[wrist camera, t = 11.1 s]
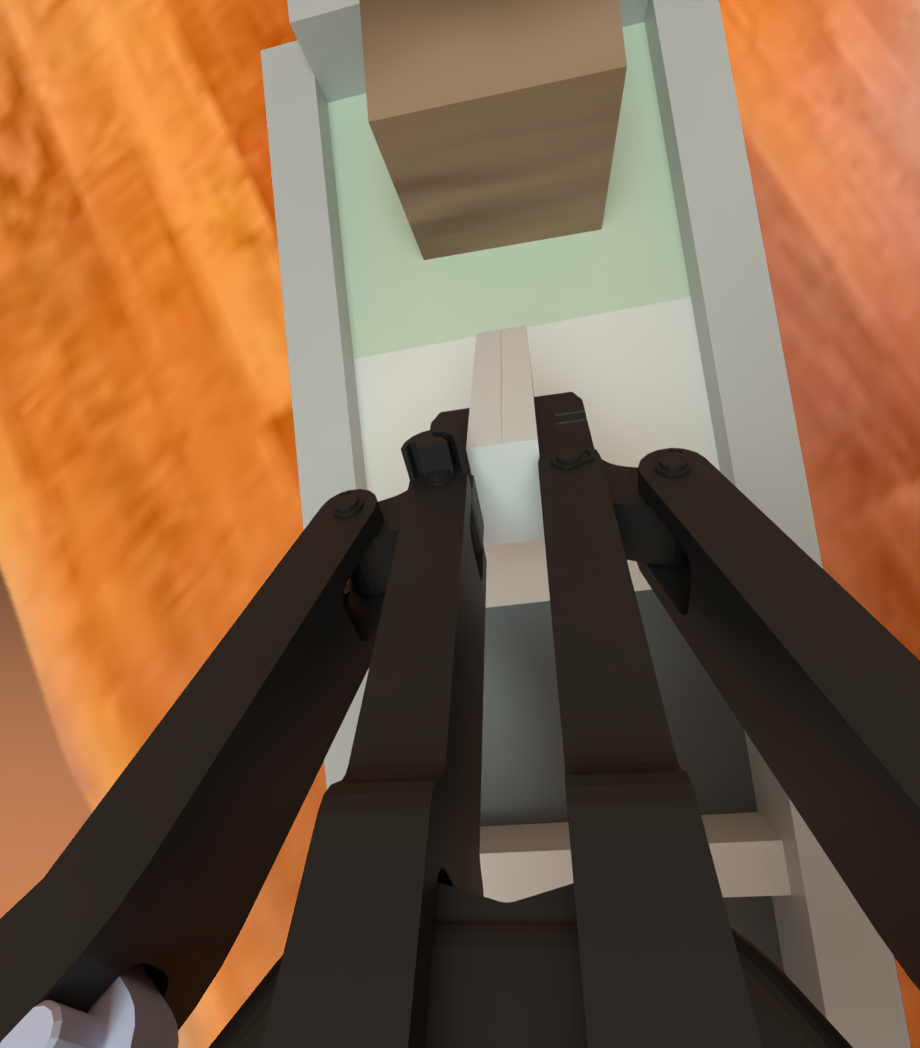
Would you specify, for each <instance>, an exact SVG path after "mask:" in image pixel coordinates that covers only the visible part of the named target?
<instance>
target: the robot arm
mask: <svg viewBox="0 0 920 1048" xmlns="http://www.w3.org/2000/svg"><path fill="white" fill-rule="evenodd" d="M401 452H402V456H403V459H404V462H405V466H406V469H407V472H408V476H409V479H410V482H409V487H408V490H407V491H405V492H403V493H401V494H399V495H396V496H394V497H391V498H388V499H385V500H382V501H379V502H378V501H377V498H376V495H375V494H374V493H372V492H371V491H369V490H363V489H355V490H348V491H345V492H341V493H339V494H337V495H335V496H334V497H332V498H330V499H329V500H328V501H327V502H326V503H325V504H324V505H323V506H322V507H321V508H320V509H319V511H318V512H317V513H316V515H315V516H314V517H313V519H312V520H311V521H310V523H309V524H308V525H307V527H306V528H305V529H304V531H303V532H302V533H301V535H300V536H299V537H298V539H297V540H296V541H295V543H294V544H293V545H292V547H291V548H290V549H289V551H288V552H287V553H286V555H285V556H284V557H283V559H282V560H281V561H280V563H279V564H278V565H277V567H276V568H275V569H274V571H273V572H272V573H271V575H270V576H269V577H268V579H267V580H266V582H265V583H264V584H263V586H262V587H261V588H260V590H259V591H258V592H257V594H256V595H255V596H254V598H253V599H252V600H251V602H250V603H249V604H248V606H247V607H246V608H245V610H244V611H243V612H242V614H241V615H240V616H239V618H238V619H237V620H236V622H235V623H234V624H233V626H232V627H231V628H230V630H229V631H228V632H227V634H226V635H225V636H224V638H223V639H222V640H221V642H220V643H219V644H218V646H217V647H216V648H215V650H214V651H213V652H212V654H211V655H210V656H209V658H208V659H207V660H206V662H205V663H204V664H203V666H202V667H201V668H200V670H199V671H198V672H197V674H196V675H195V676H194V678H193V679H192V680H191V682H190V683H189V684H188V686H187V687H186V688H185V690H184V691H183V692H182V694H181V695H180V696H179V698H178V699H177V700H176V702H175V703H174V704H173V706H172V707H171V708H170V710H169V711H168V712H167V714H166V715H165V716H164V718H163V719H162V720H161V722H160V723H159V724H158V726H157V727H156V728H155V730H154V731H153V732H152V734H151V735H150V736H149V738H148V739H147V741H146V742H145V743H144V745H143V746H142V747H141V749H140V750H139V751H138V753H137V754H136V755H135V757H134V758H133V759H132V761H131V762H130V763H129V765H128V766H127V767H126V769H125V770H124V771H123V773H122V774H121V775H120V777H119V778H118V779H117V781H116V782H115V783H114V785H113V786H112V787H111V789H110V790H109V791H108V793H107V794H106V795H105V797H104V798H103V799H102V801H101V802H100V803H99V805H98V806H97V807H96V809H95V810H94V811H93V813H92V814H91V815H90V817H89V818H88V819H87V821H86V822H85V823H84V825H83V826H82V827H81V829H80V830H79V832H78V833H77V834H76V835H75V837H74V838H73V839H72V841H71V842H70V843H69V845H68V846H67V847H66V849H65V850H64V851H63V853H62V854H61V855H60V857H59V858H58V860H57V861H56V862H55V863H54V865H53V866H52V868H51V869H50V870H49V872H48V873H47V874H46V875H45V877H44V878H43V879H42V880H41V881H40V882H39V883H38V884H37V885H36V886H35V887H34V888H33V889H32V890H31V891H30V892H28V893H27V894H26V896H24V897H23V898H22V899H21V900H20V901H19V902H18V903H17V904H16V905H15V906H14V907H13V908H11V909H10V910H9V911H8V912H7V913H6V914H5V915H4V916H3V917H2V918H1V919H0V1048H178V1043H179V1041H178V1030H179V1029H180V1028H181V1026H182V1025H183V1024H184V1022H185V1021H186V1020H187V1018H188V1017H189V1016H190V1014H191V1013H192V1011H193V1010H194V1009H195V1007H196V1006H197V1004H198V1003H199V1001H200V1000H201V998H202V996H203V995H204V993H205V992H206V990H207V988H208V987H209V985H210V984H211V982H212V981H213V979H214V977H215V976H216V974H217V973H218V971H219V970H220V968H221V966H222V965H223V963H224V961H225V959H226V957H227V955H228V953H229V951H230V950H231V948H232V946H233V944H234V942H235V940H236V938H237V937H238V935H239V933H240V931H241V929H242V927H243V925H244V923H245V921H246V919H247V917H248V915H249V913H250V911H251V909H252V907H253V905H254V903H255V901H256V899H257V896H258V894H259V892H260V890H261V888H262V886H263V884H264V882H265V880H266V878H267V876H268V874H269V872H270V870H271V868H272V866H273V864H274V862H275V860H276V857H277V855H278V853H279V851H280V849H281V847H282V845H283V843H284V841H285V839H286V837H287V835H288V833H289V831H290V829H291V827H292V825H293V823H294V821H295V818H296V816H297V814H298V812H299V810H300V808H301V806H302V804H303V802H304V800H305V798H306V796H307V794H308V792H309V790H310V788H311V786H312V784H313V782H314V779H315V777H316V775H317V773H318V771H319V769H320V767H321V765H322V763H323V761H324V759H325V757H326V755H327V753H328V751H329V749H330V747H331V745H332V743H333V741H334V738H335V736H336V734H337V732H338V730H339V728H340V726H341V724H342V722H343V720H344V718H345V716H346V714H347V712H348V710H349V708H350V706H351V704H352V702H353V699H354V697H355V695H356V693H357V691H358V689H359V687H360V685H361V683H362V681H363V679H364V677H365V675H366V673H367V671H368V669H369V672H368V676H367V681H366V685H365V690H364V695H363V699H362V704H361V709H360V713H359V718H358V722H357V727H356V732H355V736H354V741H353V745H352V750H351V755H350V759H349V764H348V768H347V771H346V774H345V776H344V777H343V779H342V780H341V781H338V782H336V783H333V784H331V785H330V786H329V788H328V789H327V791H326V792H325V794H324V796H323V799H322V802H321V804H320V807H319V810H318V814H317V818H316V822H315V826H314V830H313V835H312V839H311V843H310V847H309V851H308V855H307V859H306V863H305V867H304V872H303V876H302V880H301V884H300V888H299V892H298V896H297V900H296V904H295V908H294V913H293V917H292V921H291V925H290V929H289V933H288V937H287V941H286V945H285V950H284V954H283V955H282V957H281V958H280V959H279V960H278V961H277V962H276V964H275V965H274V966H273V967H272V969H271V970H270V971H269V972H268V974H267V975H266V976H265V977H264V979H263V980H262V981H261V982H260V984H259V985H258V986H257V988H256V989H255V990H254V991H253V993H252V994H251V995H250V996H249V998H248V999H247V1000H246V1001H245V1003H244V1004H243V1005H242V1006H241V1008H240V1009H239V1010H238V1011H237V1013H236V1014H235V1015H234V1016H233V1018H232V1019H231V1020H230V1021H229V1023H228V1024H227V1025H226V1026H225V1028H224V1029H223V1030H222V1031H221V1033H220V1034H219V1035H218V1036H217V1038H216V1039H215V1040H214V1041H213V1043H212V1044H211V1045H210V1046H209V1048H853V1047H852V1046H851V1045H850V1044H849V1043H848V1041H847V1040H846V1039H845V1038H844V1037H843V1036H842V1035H841V1034H840V1033H839V1032H838V1031H837V1030H836V1028H835V1027H834V1026H833V1025H832V1024H831V1023H830V1022H829V1021H828V1020H827V1019H826V1018H825V1016H824V1015H823V1014H822V1013H821V1012H820V1011H819V1010H818V1009H817V1008H816V1007H815V1006H814V1005H813V1003H812V1002H811V1001H810V1000H809V999H808V998H807V997H806V996H805V995H804V994H803V993H802V991H801V990H800V989H799V988H798V987H797V986H796V985H795V984H794V983H793V982H792V981H791V980H790V978H789V977H788V976H787V975H786V974H785V973H784V972H783V971H782V970H781V969H780V968H779V967H778V966H777V965H776V964H775V963H774V962H773V961H772V960H771V959H770V958H769V957H768V956H767V955H765V954H764V953H763V952H762V951H761V950H760V949H759V948H758V947H756V946H755V945H754V944H753V943H752V942H751V941H749V940H748V939H747V938H745V937H744V936H742V935H741V934H740V933H738V932H737V931H736V930H734V929H733V928H731V926H730V922H729V919H728V915H727V911H726V907H725V903H724V900H723V896H722V892H721V888H720V885H719V881H718V877H717V873H716V870H715V866H714V862H713V858H712V855H711V851H710V847H709V843H708V839H707V836H706V832H705V828H704V824H703V821H702V817H701V813H700V809H699V806H698V802H697V798H696V795H695V792H694V789H693V785H692V782H691V780H690V778H689V776H688V774H687V772H686V771H685V770H684V769H682V768H681V767H680V765H679V763H678V760H677V756H676V753H675V749H674V745H673V741H672V737H671V733H670V729H669V726H668V722H667V718H666V714H665V710H664V706H663V702H662V698H661V694H660V690H659V686H658V682H657V678H656V674H655V670H654V666H653V662H652V658H651V654H650V650H649V646H648V642H647V638H646V634H645V630H644V626H643V622H642V618H641V614H640V611H639V607H638V603H637V599H636V595H635V591H634V587H633V583H632V579H631V575H630V571H629V567H628V563H627V560H631V561H637V564H638V567H639V570H640V572H641V573H642V575H643V576H644V578H645V579H646V581H647V582H648V584H649V585H650V587H651V588H652V590H653V591H654V593H655V595H656V596H657V598H658V599H659V601H660V602H661V604H662V605H663V607H664V608H665V610H666V611H667V613H668V614H669V616H670V617H671V619H672V620H673V622H674V623H675V625H676V627H677V628H678V630H679V631H680V633H681V634H682V636H683V637H684V639H685V640H686V642H687V643H688V645H689V646H690V648H691V649H692V651H693V652H694V654H695V655H696V657H697V659H698V660H699V662H700V663H701V665H702V666H703V668H704V669H705V671H706V672H707V674H708V675H709V677H710V678H711V680H712V681H713V683H714V684H715V686H716V688H717V689H718V691H719V692H720V694H721V695H722V697H723V698H724V700H725V701H726V703H727V704H728V706H729V707H730V709H731V710H732V712H733V713H734V715H735V716H736V718H737V720H738V721H739V723H740V724H741V726H742V727H743V729H744V730H745V732H746V733H747V735H748V736H749V738H750V739H751V741H752V742H753V744H754V745H755V747H756V748H757V750H758V752H759V753H760V755H761V756H762V758H763V759H764V761H765V762H766V764H767V765H768V767H769V768H770V770H771V771H772V773H773V774H774V776H775V777H776V779H777V780H778V782H779V784H780V785H781V787H782V788H783V790H784V791H785V793H786V794H787V796H788V797H789V799H790V800H791V802H792V803H793V805H794V806H795V808H796V809H797V811H798V812H799V814H800V816H801V817H802V819H803V820H804V822H805V823H806V825H807V826H808V828H809V829H810V831H811V832H812V834H813V835H814V837H815V838H816V840H817V841H818V843H819V844H820V846H821V848H822V849H823V851H824V852H825V854H826V855H827V857H828V858H829V860H830V861H831V863H832V864H833V866H834V867H835V869H836V870H837V872H838V873H839V875H840V876H841V878H842V880H843V881H844V883H845V884H846V886H847V887H848V889H849V890H850V892H851V893H852V895H853V896H854V898H855V899H856V901H857V902H858V904H859V905H860V907H861V908H862V910H863V912H864V913H865V915H866V916H867V918H868V919H869V921H870V922H871V924H872V925H873V927H874V928H875V930H876V931H877V933H878V934H879V936H880V937H881V938H882V940H883V941H884V943H885V944H886V945H887V947H888V948H889V950H890V951H891V952H892V954H893V955H894V957H895V958H896V959H897V961H898V962H899V964H900V965H901V966H902V968H903V969H904V971H905V972H906V973H907V975H908V976H909V978H910V979H911V980H912V982H913V983H914V984H915V985H916V986H917V988H918V989H919V990H920V661H919V660H918V659H917V658H916V657H915V656H914V655H913V654H912V653H911V652H910V651H909V650H908V649H907V648H906V647H905V646H904V645H903V644H901V643H900V642H899V641H898V640H897V639H896V638H895V637H894V636H893V635H892V634H891V633H890V632H889V631H888V630H887V629H886V628H885V627H883V626H882V625H881V624H880V623H879V622H878V621H877V620H876V619H875V618H874V617H873V616H872V615H871V614H870V613H869V612H868V611H867V610H866V609H864V608H863V607H862V606H861V605H860V604H859V603H858V602H857V601H856V600H855V599H854V598H853V597H852V596H851V595H850V594H849V593H848V592H847V591H845V590H844V589H843V588H842V587H841V586H840V585H839V584H838V583H837V582H836V581H835V580H834V579H833V578H832V577H831V576H830V575H829V574H828V573H826V572H825V571H824V570H823V569H822V568H821V567H820V566H819V565H818V564H817V563H816V562H815V561H814V560H813V559H812V558H811V557H810V556H809V555H807V554H806V553H805V552H804V551H803V550H802V549H801V548H800V547H799V546H798V545H797V544H796V543H795V542H794V541H793V540H792V539H791V538H789V537H788V536H787V535H786V534H785V533H784V532H783V531H782V530H781V529H780V528H779V527H778V526H777V525H776V524H775V523H774V522H773V521H772V520H770V519H769V518H768V517H767V516H766V515H765V514H764V513H763V512H762V511H761V510H760V509H759V508H758V507H757V506H756V505H755V504H754V503H753V502H751V501H750V500H749V499H748V498H747V497H746V496H745V495H744V494H743V493H742V492H741V491H740V490H739V489H738V488H737V487H736V486H735V485H734V484H732V483H731V482H730V481H729V480H728V479H727V478H726V477H725V476H724V475H723V474H722V473H721V472H720V471H719V470H718V469H717V468H716V467H715V466H713V465H712V464H711V463H710V462H709V461H708V460H707V459H706V458H705V457H703V456H702V455H700V454H699V453H697V452H694V451H691V450H687V449H682V448H667V449H660V450H656V451H654V452H651V453H649V454H647V455H646V456H645V457H643V458H642V459H641V460H640V463H639V466H638V467H626V466H618V465H614V464H611V463H608V462H606V461H604V460H602V459H601V456H600V454H599V453H598V451H597V450H596V449H594V445H593V441H592V437H591V433H590V429H589V425H588V421H587V417H586V413H585V409H584V404H583V400H582V399H581V398H580V397H578V396H577V395H576V394H574V393H573V392H565V393H558V394H552V395H545V396H538V397H534V389H533V380H532V371H531V362H530V354H529V345H528V336H527V328H526V325H525V326H519V327H513V328H507V329H501V330H495V331H489V332H483V333H477V334H476V345H475V356H474V367H473V378H472V389H471V399H470V408H465V409H459V410H452V411H445V412H440V413H439V414H438V415H437V417H436V418H435V419H434V420H433V421H432V422H431V426H430V430H428V431H424V432H421V433H419V434H417V435H414V436H412V437H411V438H410V439H408V440H407V441H406V442H404V444H403V446H402V447H401ZM484 536H485V541H486V545H493V544H503V543H513V542H522V541H532V540H541V539H545V550H546V561H547V572H548V584H549V595H550V606H551V617H552V629H553V640H554V651H555V663H556V674H557V685H558V696H559V708H560V719H561V730H562V742H563V753H564V765H565V789H566V802H567V814H568V825H569V837H570V848H571V860H572V871H573V883H572V884H569V885H566V886H563V887H560V888H556V889H553V890H550V891H547V892H544V893H540V894H537V895H534V896H531V897H528V898H524V899H521V900H518V901H514V902H500V901H496V900H493V899H490V898H487V897H484V893H483V882H482V874H481V866H480V812H481V772H482V731H483V690H484V650H485V609H486V568H487V559H486V554H485V550H484V545H483V538H484Z"/></svg>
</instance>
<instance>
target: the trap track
mask: <svg viewBox="0 0 920 1048" xmlns="http://www.w3.org/2000/svg"><path fill="white" fill-rule="evenodd" d="M287 2H288V12H289V22H290V25H291V27H292V29H293V31H294V33H295V36H296V38H297V41H293V42H290V43H286V44H283V45H279V46H275V47H272V48H268V49H264V50H261V61H262V72H263V83H264V94H265V106H266V117H267V128H268V139H269V150H270V161H271V172H272V184H273V195H274V206H275V217H276V228H277V239H278V251H279V262H280V273H281V284H282V295H283V306H284V317H285V329H286V340H287V351H288V362H289V373H290V384H291V396H292V407H293V418H294V429H295V440H296V451H297V462H298V474H299V485H300V496H301V507H302V518H303V529H305V528H306V527H307V525H308V524H309V523H310V521H311V520H312V519H313V517H314V516H315V515H316V513H317V512H318V511H319V509H320V508H321V507H322V506H323V505H324V504H325V503H326V502H327V501H328V500H329V499H330V498H332V497H334V496H335V495H337V494H339V493H341V492H345V491H348V490H355V489H363V490H369V491H371V492H372V493H374V494H375V495H376V498H377V501H378V502H379V501H382V500H385V499H388V498H391V497H394V496H396V495H399V494H401V493H403V492H405V491H407V490H408V487H409V482H410V479H409V476H408V472H407V469H406V466H405V462H404V459H403V456H402V452H401V447H402V446H403V444H404V442H406V441H407V440H408V439H410V438H411V437H412V436H414V435H417V434H419V433H421V432H424V431H428V430H430V426H431V422H432V421H433V420H434V419H435V418H436V417H437V415H438V414H439V413H440V412H445V411H452V410H459V409H465V408H470V399H471V389H472V378H473V367H474V356H475V345H476V334H477V333H483V332H489V331H495V330H501V329H507V328H513V327H519V326H525V325H526V328H527V336H528V345H529V354H530V362H531V371H532V380H533V389H534V397H538V396H545V395H552V394H558V393H565V392H573V393H574V394H576V395H577V396H578V397H580V398H581V399H582V400H583V404H584V409H585V413H586V417H587V421H588V425H589V429H590V433H591V437H592V441H593V445H594V449H596V450H597V451H598V453H599V454H600V456H601V459H602V460H604V461H606V462H608V463H611V464H614V465H618V466H626V467H638V466H639V463H640V460H641V459H642V458H643V457H645V456H646V455H647V454H649V453H651V452H654V451H656V450H660V449H667V448H682V449H687V450H691V451H694V452H697V453H699V454H700V455H702V456H703V457H705V458H706V459H707V460H708V461H709V462H710V463H711V464H712V465H713V466H715V467H716V468H717V469H718V470H719V471H720V472H721V473H722V474H723V475H724V476H725V477H726V478H727V479H728V480H729V481H730V482H731V483H732V484H734V485H735V486H736V487H737V488H738V489H739V490H740V491H741V492H742V493H743V494H744V495H745V496H746V497H747V498H748V499H749V500H750V501H751V502H753V503H754V504H755V505H756V506H757V507H758V508H759V509H760V510H761V511H762V512H763V513H764V514H765V515H766V516H767V517H768V518H769V519H770V520H772V521H773V522H774V523H775V524H776V525H777V526H778V527H779V528H780V529H781V530H782V531H783V532H784V533H785V534H786V535H787V536H788V537H789V538H791V539H792V540H793V541H794V542H795V543H796V544H797V545H798V546H799V547H800V548H801V549H802V550H803V551H804V552H805V553H806V554H807V555H809V556H810V557H811V558H812V559H813V560H814V561H815V562H816V563H817V564H818V565H819V566H820V567H821V568H822V569H823V567H822V561H821V556H820V550H819V545H818V539H817V534H816V529H815V523H814V518H813V512H812V507H811V501H810V496H809V490H808V485H807V480H806V474H805V469H804V463H803V458H802V452H801V447H800V441H799V436H798V431H797V425H796V420H795V414H794V409H793V403H792V398H791V393H790V387H789V382H788V376H787V371H786V365H785V360H784V354H783V349H782V344H781V338H780V333H779V327H778V322H777V316H776V311H775V305H774V300H773V295H772V289H771V284H770V278H769V273H768V267H767V262H766V257H765V251H764V246H763V240H762V235H761V229H760V224H759V218H758V213H757V208H756V202H755V197H754V191H753V186H752V180H751V175H750V169H749V164H748V159H747V153H746V148H745V142H744V137H743V131H742V126H741V121H740V115H739V110H738V104H737V99H736V93H735V88H734V82H733V77H732V72H731V66H730V61H729V55H728V50H727V44H726V39H725V33H724V28H723V23H722V17H721V12H720V6H719V1H718V0H619V5H620V13H621V21H622V29H623V37H624V45H625V53H626V61H627V70H626V77H625V83H624V89H623V96H622V102H621V108H620V115H619V121H618V128H617V134H616V140H615V147H614V153H613V160H612V166H611V172H610V179H609V185H608V192H607V198H606V204H605V211H604V217H603V223H602V229H601V230H596V231H590V232H584V233H578V234H573V235H567V236H561V237H555V238H550V239H544V240H538V241H532V242H526V243H521V244H515V245H509V246H503V247H498V248H492V249H486V250H480V251H475V252H469V253H463V254H457V255H452V256H446V257H440V258H434V259H428V260H424V259H423V257H422V254H421V252H420V249H419V247H418V244H417V242H416V239H415V237H414V234H413V232H412V229H411V227H410V224H409V222H408V219H407V217H406V214H405V212H404V209H403V207H402V204H401V202H400V199H399V197H398V194H397V192H396V189H395V187H394V185H393V182H392V180H391V177H390V175H389V172H388V170H387V167H386V165H385V162H384V160H383V157H382V155H381V152H380V150H379V147H378V145H377V142H376V140H375V137H374V135H373V132H372V130H371V127H370V125H369V122H368V110H367V97H366V84H365V70H364V57H363V43H362V30H361V16H360V3H359V0H287ZM483 545H484V550H485V554H486V559H487V568H486V609H485V650H484V690H483V731H482V772H481V812H480V866H481V874H482V882H483V893H484V897H487V898H490V899H493V900H496V901H500V902H514V901H518V900H521V899H524V898H528V897H531V896H534V895H537V894H540V893H544V892H547V891H550V890H553V889H556V888H560V887H563V886H566V885H569V884H572V883H573V871H572V860H571V848H570V837H569V825H568V814H567V802H566V789H565V765H564V753H563V742H562V730H561V719H560V708H559V696H558V685H557V674H556V663H555V651H554V640H553V629H552V617H551V606H550V595H549V584H548V572H547V561H546V550H545V539H541V540H532V541H522V542H513V543H503V544H493V545H486V541H485V536H484V538H483ZM627 563H628V567H629V571H630V575H631V579H632V583H633V587H634V591H635V595H636V599H637V603H638V607H639V611H640V614H641V618H642V622H643V626H644V630H645V634H646V638H647V642H648V646H649V650H650V654H651V658H652V662H653V666H654V670H655V674H656V678H657V682H658V686H659V690H660V694H661V698H662V702H663V706H664V710H665V714H666V718H667V722H668V726H669V729H670V733H671V737H672V741H673V745H674V749H675V753H676V756H677V760H678V763H679V765H680V767H681V768H682V769H684V770H685V771H686V772H687V774H688V776H689V778H690V780H691V782H692V785H693V789H694V792H695V795H696V798H697V802H698V806H699V809H700V813H701V817H702V821H703V824H704V828H705V832H706V836H707V839H708V843H709V847H710V851H711V855H712V858H713V862H714V866H715V870H716V873H717V877H718V881H719V885H720V888H721V892H722V896H723V900H724V903H725V907H726V911H727V915H728V919H729V922H730V926H731V928H733V929H734V930H736V931H737V932H738V933H740V934H741V935H742V936H744V937H745V938H747V939H748V940H749V941H751V942H752V943H753V944H754V945H755V946H756V947H758V948H759V949H760V950H761V951H762V952H763V953H764V954H765V955H767V956H768V957H769V958H770V959H771V960H772V961H773V962H774V963H775V964H776V965H777V966H778V967H779V968H780V969H781V970H782V971H783V972H784V973H785V974H786V975H787V976H788V977H789V978H790V980H791V981H792V982H793V983H794V984H795V985H796V986H797V987H798V988H799V989H800V990H801V991H802V993H803V994H804V995H805V996H806V997H807V998H808V999H809V1000H810V1001H811V1002H812V1003H813V1005H814V1006H815V1007H816V1008H817V1009H818V1010H819V1011H820V1012H821V1013H822V1014H823V1015H824V1016H825V1018H826V1019H827V1020H828V1021H829V1022H830V1023H831V1024H832V1025H833V1026H834V1027H835V1028H836V1030H837V1031H838V1032H839V1033H840V1034H841V1035H842V1036H843V1037H844V1038H845V1039H846V1040H847V1041H848V1043H849V1044H850V1045H851V1046H852V1047H853V1048H911V1045H910V1040H909V1034H908V1029H907V1024H906V1018H905V1013H904V1007H903V1002H902V996H901V991H900V985H899V980H898V975H897V969H896V964H895V958H894V955H893V954H892V952H891V951H890V950H889V948H888V947H887V945H886V944H885V943H884V941H883V940H882V938H881V937H880V936H879V934H878V933H877V931H876V930H875V928H874V927H873V925H872V924H871V922H870V921H869V919H868V918H867V916H866V915H865V913H864V912H863V910H862V908H861V907H860V905H859V904H858V902H857V901H856V899H855V898H854V896H853V895H852V893H851V892H850V890H849V889H848V887H847V886H846V884H845V883H844V881H843V880H842V878H841V876H840V875H839V873H838V872H837V870H836V869H835V867H834V866H833V864H832V863H831V861H830V860H829V858H828V857H827V855H826V854H825V852H824V851H823V849H822V848H821V846H820V844H819V843H818V841H817V840H816V838H815V837H814V835H813V834H812V832H811V831H810V829H809V828H808V826H807V825H806V823H805V822H804V820H803V819H802V817H801V816H800V814H799V812H798V811H797V809H796V808H795V806H794V805H793V803H792V802H791V800H790V799H789V797H788V796H787V794H786V793H785V791H784V790H783V788H782V787H781V785H780V784H779V782H778V780H777V779H776V777H775V776H774V774H773V773H772V771H771V770H770V768H769V767H768V765H767V764H766V762H765V761H764V759H763V758H762V756H761V755H760V753H759V752H758V750H757V748H756V747H755V745H754V744H753V742H752V741H751V739H750V738H749V736H748V735H747V733H746V732H745V730H744V729H743V727H742V726H741V724H740V723H739V721H738V720H737V718H736V716H735V715H734V713H733V712H732V710H731V709H730V707H729V706H728V704H727V703H726V701H725V700H724V698H723V697H722V695H721V694H720V692H719V691H718V689H717V688H716V686H715V684H714V683H713V681H712V680H711V678H710V677H709V675H708V674H707V672H706V671H705V669H704V668H703V666H702V665H701V663H700V662H699V660H698V659H697V657H696V655H695V654H694V652H693V651H692V649H691V648H690V646H689V645H688V643H687V642H686V640H685V639H684V637H683V636H682V634H681V633H680V631H679V630H678V628H677V627H676V625H675V623H674V622H673V620H672V619H671V617H670V616H669V614H668V613H667V611H666V610H665V608H664V607H663V605H662V604H661V602H660V601H659V599H658V598H657V596H656V595H655V593H654V591H653V590H652V588H651V587H650V585H649V584H648V582H647V581H646V579H645V578H644V576H643V575H642V573H641V572H640V570H639V567H638V564H637V561H631V560H627ZM368 672H369V669H368V671H367V673H366V675H365V677H364V679H363V681H362V683H361V685H360V687H359V689H358V691H357V693H356V695H355V697H354V699H353V702H352V704H351V706H350V708H349V710H348V712H347V714H346V716H345V718H344V720H343V722H342V724H341V726H340V728H339V730H338V732H337V734H336V736H335V738H334V741H333V743H332V745H331V747H330V749H329V751H328V753H327V755H326V757H325V759H324V764H325V775H326V786H327V789H328V788H329V786H330V785H331V784H333V783H336V782H338V781H341V780H342V779H343V777H344V776H345V774H346V771H347V768H348V764H349V759H350V755H351V750H352V745H353V741H354V736H355V732H356V727H357V722H358V718H359V713H360V709H361V704H362V699H363V695H364V690H365V685H366V681H367V676H368Z"/></svg>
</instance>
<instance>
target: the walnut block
mask: <svg viewBox="0 0 920 1048" xmlns="http://www.w3.org/2000/svg"><path fill="white" fill-rule="evenodd" d="M359 3H360V16H361V30H362V43H363V57H364V70H365V84H366V97H367V110H368V122H369V125H370V127H371V130H372V132H373V135H374V137H375V140H376V142H377V145H378V147H379V150H380V152H381V155H382V157H383V160H384V162H385V165H386V167H387V170H388V172H389V175H390V177H391V180H392V182H393V185H394V187H395V189H396V192H397V194H398V197H399V199H400V202H401V204H402V207H403V209H404V212H405V214H406V217H407V219H408V222H409V224H410V227H411V229H412V232H413V234H414V237H415V239H416V242H417V244H418V247H419V249H420V252H421V254H422V257H423V259H424V260H428V259H434V258H440V257H446V256H452V255H457V254H463V253H469V252H475V251H480V250H486V249H492V248H498V247H503V246H509V245H515V244H521V243H526V242H532V241H538V240H544V239H550V238H555V237H561V236H567V235H573V234H578V233H584V232H590V231H596V230H601V229H602V223H603V217H604V211H605V204H606V198H607V192H608V185H609V179H610V172H611V166H612V160H613V153H614V147H615V140H616V134H617V128H618V121H619V115H620V108H621V102H622V96H623V89H624V83H625V77H626V70H627V61H626V53H625V45H624V37H623V29H622V21H621V13H620V5H619V0H359Z"/></svg>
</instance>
